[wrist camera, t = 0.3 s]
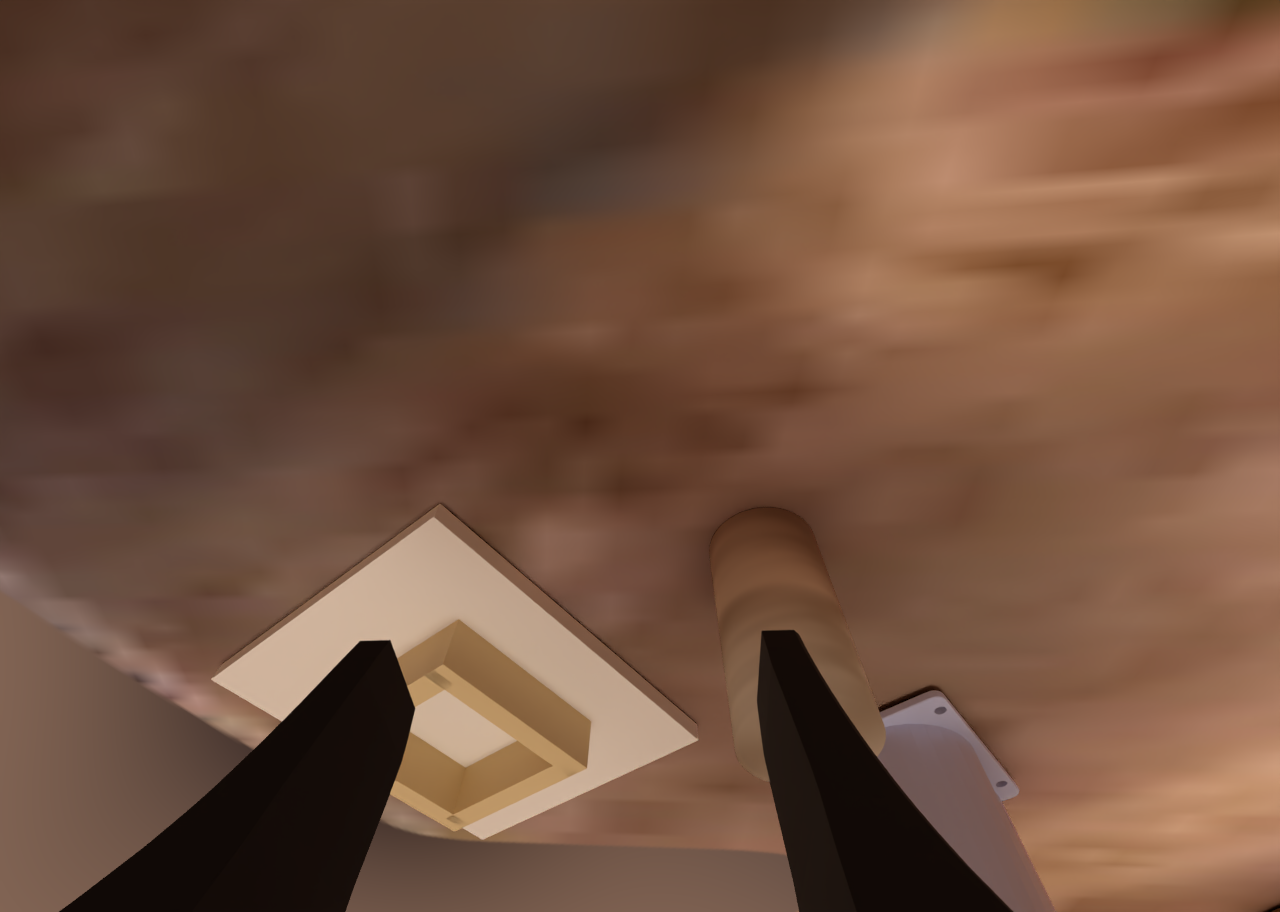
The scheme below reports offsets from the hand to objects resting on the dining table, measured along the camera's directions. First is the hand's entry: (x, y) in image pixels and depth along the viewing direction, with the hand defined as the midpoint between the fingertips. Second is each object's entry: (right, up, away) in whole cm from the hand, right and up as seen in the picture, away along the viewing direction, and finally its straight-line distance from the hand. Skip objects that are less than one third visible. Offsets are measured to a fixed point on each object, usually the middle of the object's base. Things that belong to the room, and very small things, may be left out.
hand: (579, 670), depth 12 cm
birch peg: (+6, +1, +11) cm, 13 cm away
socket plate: (-7, -7, +16) cm, 18 cm away
